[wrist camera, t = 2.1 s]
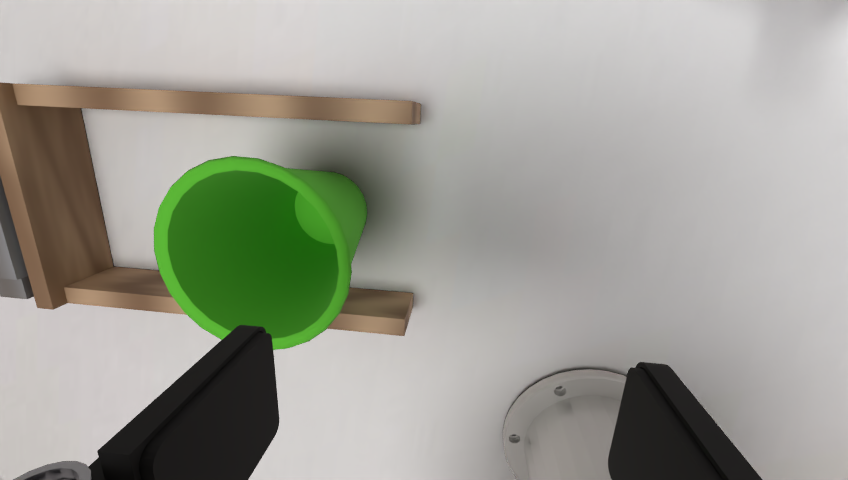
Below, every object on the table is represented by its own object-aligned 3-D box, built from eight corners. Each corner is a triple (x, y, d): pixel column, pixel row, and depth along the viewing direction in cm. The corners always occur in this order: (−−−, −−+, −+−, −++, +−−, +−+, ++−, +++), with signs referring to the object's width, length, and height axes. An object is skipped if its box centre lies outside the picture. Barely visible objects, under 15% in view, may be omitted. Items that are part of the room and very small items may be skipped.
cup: (255, 153, 27) (120, 175, 16) (382, 132, 26) (322, 140, 15) (288, 274, 29) (189, 359, 19) (405, 260, 28) (368, 343, 18)
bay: (421, 104, 25) (408, 99, 20) (412, 307, 29) (400, 347, 24) (24, 86, 27) (-79, 78, 22) (71, 276, 32) (-7, 306, 26)
